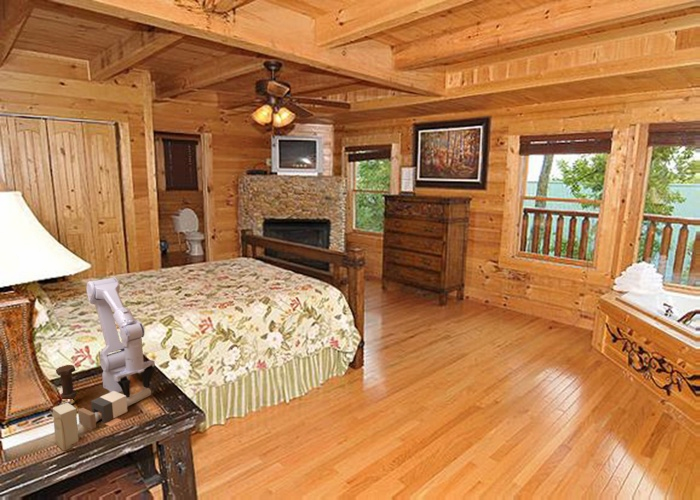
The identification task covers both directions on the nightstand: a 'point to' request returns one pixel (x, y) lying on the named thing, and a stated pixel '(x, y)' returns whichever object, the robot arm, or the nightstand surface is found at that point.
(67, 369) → the bolt
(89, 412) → the pipe clamp
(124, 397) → the sleeve
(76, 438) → the skincare box
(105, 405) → the dark grey block
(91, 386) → the nightstand surface
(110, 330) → the robot arm
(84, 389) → the nightstand surface
